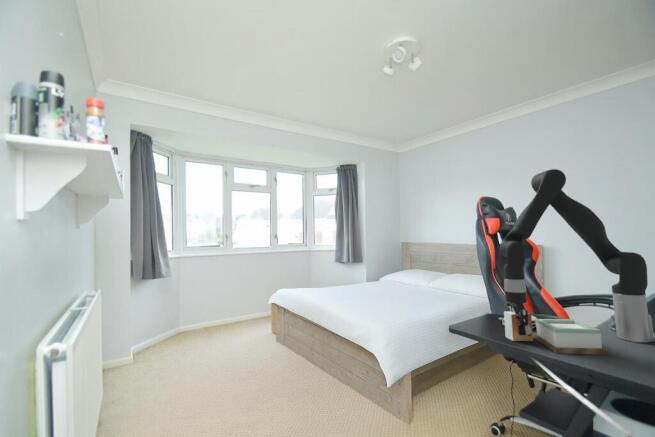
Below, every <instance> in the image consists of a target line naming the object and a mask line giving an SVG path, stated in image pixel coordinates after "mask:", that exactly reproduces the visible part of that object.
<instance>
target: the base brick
mask: <svg viewBox="0 0 655 437" xmlns="http://www.w3.org/2000/svg"><path fill="white" fill-rule="evenodd" d="M536 326H537V327H536V334H537V335H538V336H540V337H541V338H543V339H544V340H546V341H548V342H549V343H551V344H552V345H554V346H555V347H561V348H602V347H603V346H602V343H603V342H602V335H601V334H602V333H601V329H599V328H596V327H594V326H592V325H590V324H587V323H585V322H582V321H580V320H578V319H577V318H573V319H567V318H561V319H560V318H556V319H555V318H554V319H553V318H537V319H536Z"/></svg>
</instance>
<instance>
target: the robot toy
mask: <svg viewBox="0 0 655 437" xmlns="http://www.w3.org/2000/svg"><path fill="white" fill-rule="evenodd" d="M531 317H532V329H534V328H537V326H536V319H538V318H537V317H536V316H534V315H532V314H531ZM498 320H500V321H499V322H500V324H502V325H503V326H505V321H504V316H502V317H498Z"/></svg>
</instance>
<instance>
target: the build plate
mask: <svg viewBox="0 0 655 437" xmlns="http://www.w3.org/2000/svg"><path fill="white" fill-rule="evenodd" d="M533 339H535V340H536V341H538V342H539V343H541V344H542V345H544V346H545V347H547V348H548V349H549V350H550V351H552V352H554V353H555V354H569V355H573V354H574V355H606V356H607V355H608V356H609V355H610V350H609V349H607V348H605V347H604V346H602V348H561V347H555V346H554V345H552V344H551V343H549V342H548V341H546V340H544V339H543V338H541V337H540V336H538V335H537V333H533Z"/></svg>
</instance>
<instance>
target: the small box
mask: <svg viewBox="0 0 655 437" xmlns="http://www.w3.org/2000/svg"><path fill="white" fill-rule="evenodd" d="M531 315H532V314H531V313H529V312H528V325H526V326H525V331H526V335H519V330H518V321H517V319H516V316H518V317H520V316H519V314H514V312H511V311H508V310H506V311H503V317H504V321H505V325H504V332H505V333H504V334H505V338H507V340H511V341H512V342H533V341H534V338H533V334H534V332H533V328H532V317H531ZM519 320H520V319H519ZM522 322H523V320H522Z"/></svg>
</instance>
